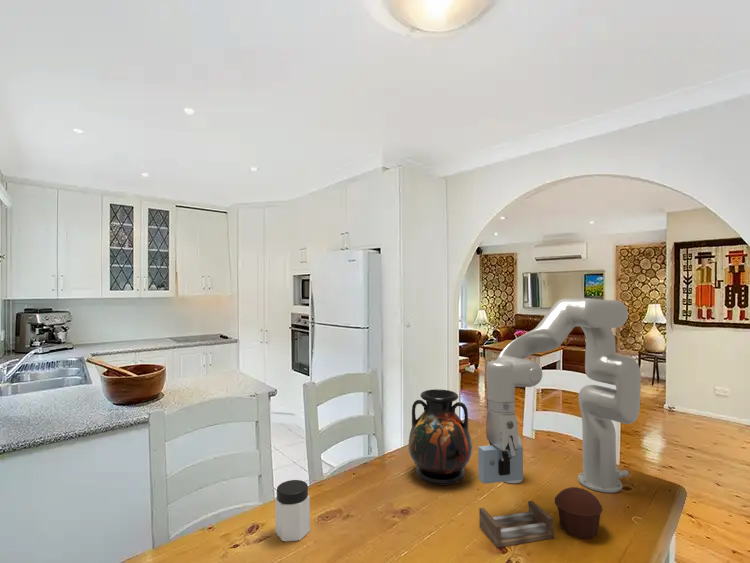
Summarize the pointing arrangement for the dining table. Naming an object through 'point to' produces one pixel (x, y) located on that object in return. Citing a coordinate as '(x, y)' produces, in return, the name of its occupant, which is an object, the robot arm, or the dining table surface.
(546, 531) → the wooden rack
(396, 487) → the dining table surface
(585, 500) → the muffin
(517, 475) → the door panel
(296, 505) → the jar
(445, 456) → the amphora vase
